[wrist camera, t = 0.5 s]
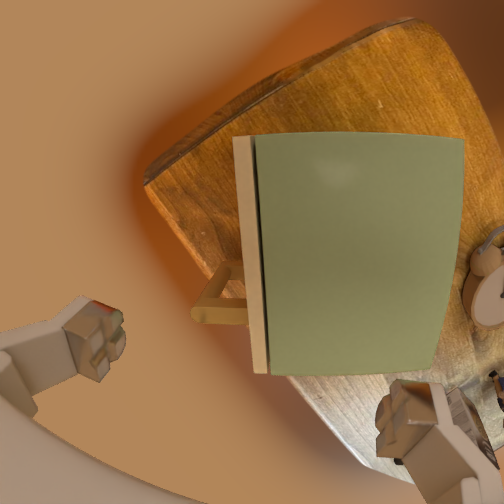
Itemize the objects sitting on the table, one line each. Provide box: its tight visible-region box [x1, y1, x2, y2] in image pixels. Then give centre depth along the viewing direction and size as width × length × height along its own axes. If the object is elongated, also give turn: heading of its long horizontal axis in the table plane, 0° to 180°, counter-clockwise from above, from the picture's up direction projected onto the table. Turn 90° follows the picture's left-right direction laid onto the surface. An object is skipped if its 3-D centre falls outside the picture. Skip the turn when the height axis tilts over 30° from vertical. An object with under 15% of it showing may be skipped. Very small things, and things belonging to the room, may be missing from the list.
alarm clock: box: [462, 225, 504, 331], centre depth 31 cm, size 11×5×15 cm
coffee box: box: [446, 388, 500, 470], centre depth 34 cm, size 9×6×16 cm
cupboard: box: [255, 132, 464, 376], centre depth 26 cm, size 12×16×18 cm
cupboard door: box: [190, 135, 270, 374], centre depth 27 cm, size 7×16×18 cm, turn 4°
